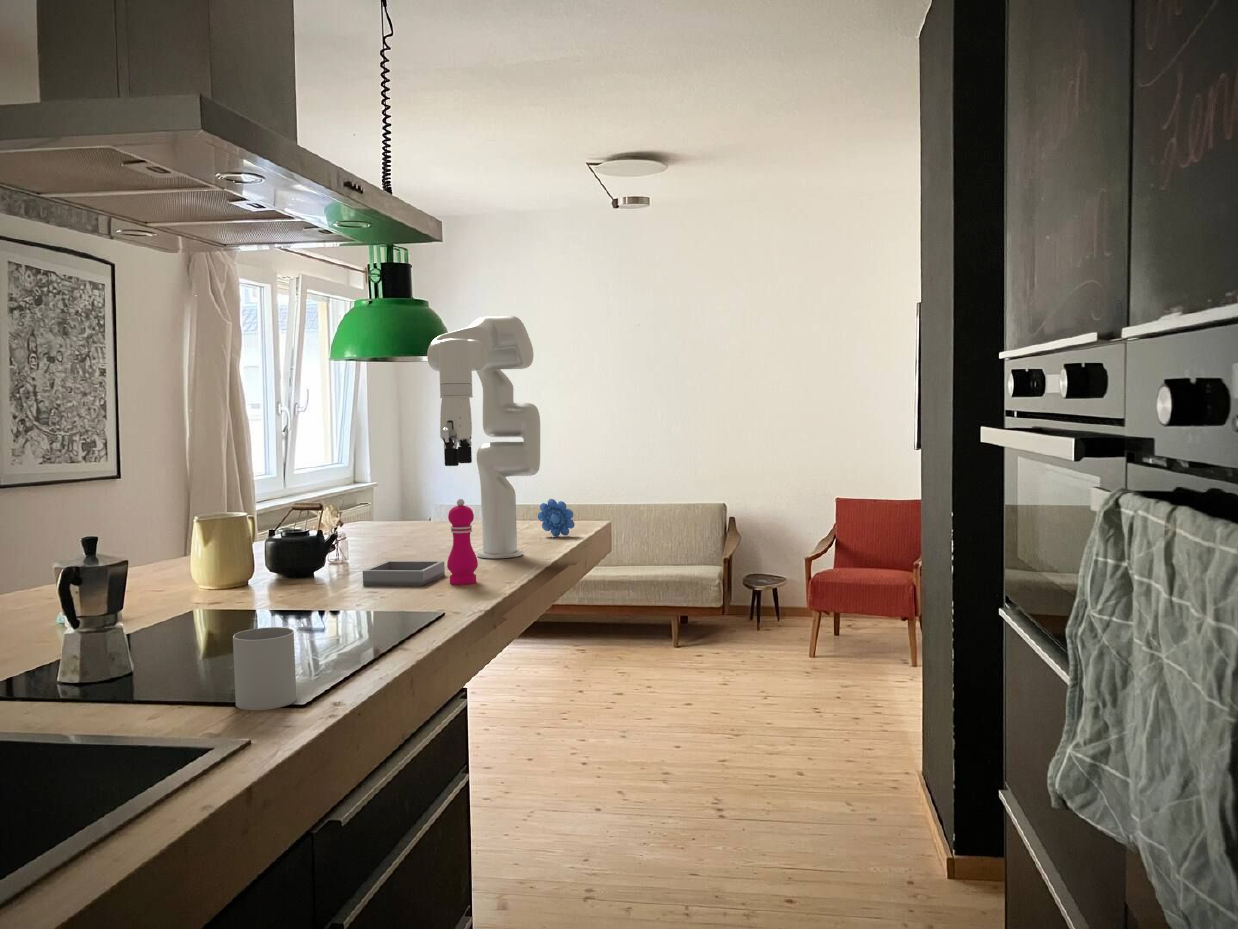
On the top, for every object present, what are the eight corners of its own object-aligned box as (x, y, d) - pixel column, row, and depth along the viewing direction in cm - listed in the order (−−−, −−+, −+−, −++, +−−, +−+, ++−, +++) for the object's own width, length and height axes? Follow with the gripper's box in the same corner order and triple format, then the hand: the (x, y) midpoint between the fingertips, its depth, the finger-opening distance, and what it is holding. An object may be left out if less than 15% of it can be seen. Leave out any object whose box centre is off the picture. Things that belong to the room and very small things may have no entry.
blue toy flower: (536, 538, 322) (535, 500, 321) (539, 535, 328) (538, 498, 328) (573, 538, 321) (572, 499, 320) (575, 535, 328) (574, 497, 327)
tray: (387, 574, 259) (387, 560, 259) (444, 575, 257) (444, 561, 257) (363, 585, 245) (362, 570, 244) (423, 586, 242) (423, 571, 242)
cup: (291, 690, 155) (288, 624, 155) (302, 704, 148) (299, 635, 148) (231, 699, 151) (228, 631, 151) (240, 713, 144) (237, 643, 144)
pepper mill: (481, 580, 249) (479, 497, 248) (474, 585, 242) (471, 500, 240) (452, 580, 250) (449, 497, 248) (444, 585, 242) (441, 500, 241)
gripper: (453, 392, 252) (455, 462, 253) (428, 392, 235) (430, 467, 236) (482, 391, 251) (484, 462, 252) (459, 391, 233) (462, 466, 235)
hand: (458, 464), depth 244 cm, fingers open, 9 cm apart
